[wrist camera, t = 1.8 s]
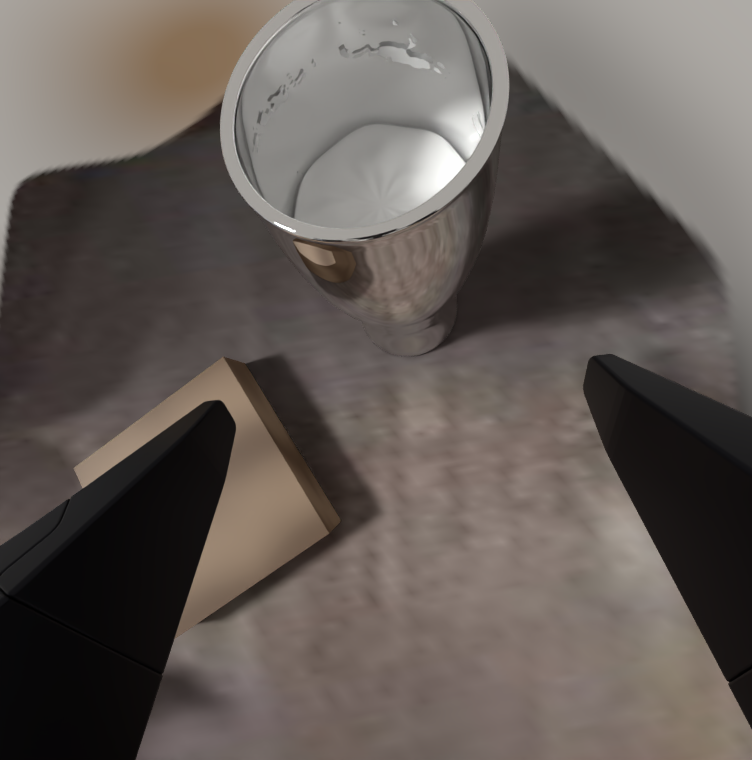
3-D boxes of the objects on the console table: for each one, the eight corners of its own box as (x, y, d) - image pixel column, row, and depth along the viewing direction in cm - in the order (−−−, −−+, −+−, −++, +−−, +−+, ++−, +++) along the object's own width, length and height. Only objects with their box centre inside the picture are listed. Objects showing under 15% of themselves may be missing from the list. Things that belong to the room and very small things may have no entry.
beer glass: (432, 237, 23) (425, -96, 8) (485, 331, 22) (588, 139, 7) (337, 289, 23) (170, 68, 9) (382, 383, 22) (277, 308, 8)
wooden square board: (341, 520, 22) (329, 533, 19) (188, 625, 23) (158, 649, 20) (245, 363, 24) (223, 356, 22) (109, 463, 25) (73, 468, 22)
